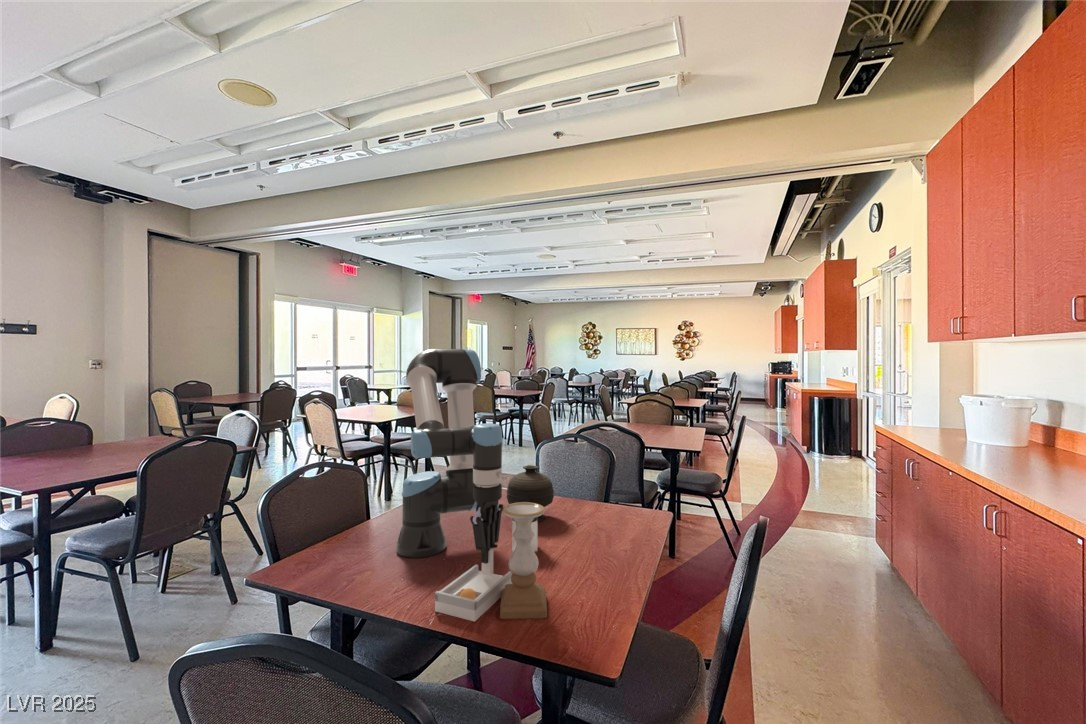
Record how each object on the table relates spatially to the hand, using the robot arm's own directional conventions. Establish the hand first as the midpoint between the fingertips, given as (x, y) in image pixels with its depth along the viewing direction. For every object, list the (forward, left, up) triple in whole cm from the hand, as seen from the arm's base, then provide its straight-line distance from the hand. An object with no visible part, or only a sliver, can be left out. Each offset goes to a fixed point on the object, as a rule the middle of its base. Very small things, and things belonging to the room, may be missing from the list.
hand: (487, 573), depth 124 cm
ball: (0, -10, -2) cm, 10 cm away
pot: (-13, +54, -4) cm, 56 cm away
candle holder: (+13, -5, -4) cm, 14 cm away
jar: (-2, +27, -4) cm, 27 cm away
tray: (0, -6, -4) cm, 7 cm away
